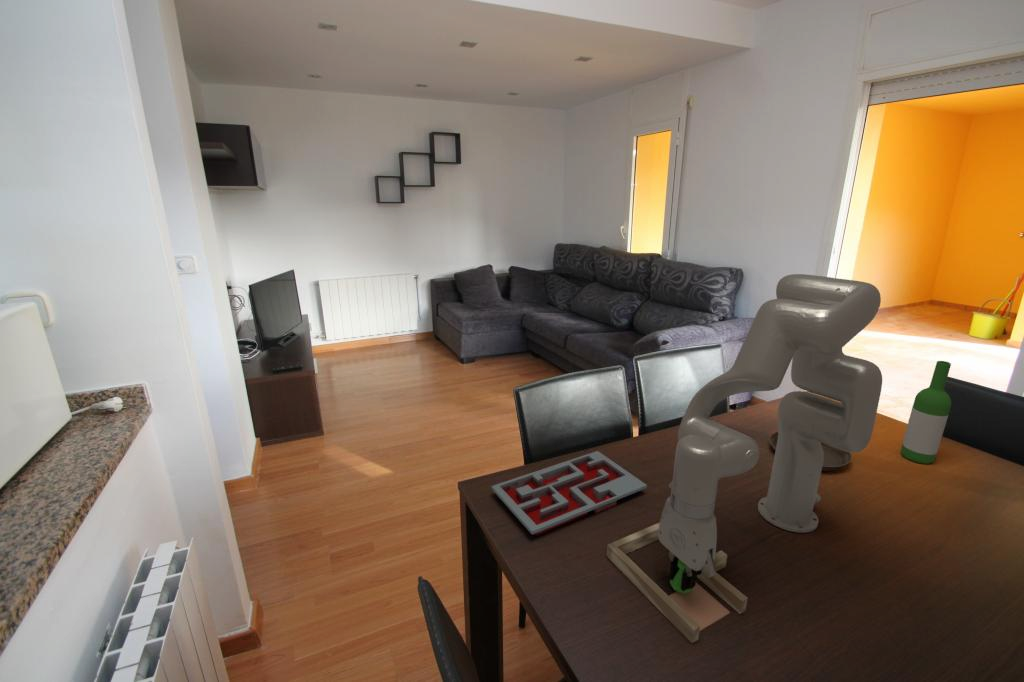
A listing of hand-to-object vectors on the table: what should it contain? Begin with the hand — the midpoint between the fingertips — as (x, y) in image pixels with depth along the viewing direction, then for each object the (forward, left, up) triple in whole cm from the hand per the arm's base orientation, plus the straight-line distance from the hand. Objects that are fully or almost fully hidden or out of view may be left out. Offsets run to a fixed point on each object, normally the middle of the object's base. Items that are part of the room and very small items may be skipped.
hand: (682, 581), depth 90 cm
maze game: (+2, -35, -3) cm, 36 cm away
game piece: (0, 0, -1) cm, 1 cm away
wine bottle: (-99, -2, -2) cm, 99 cm away
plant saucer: (-72, -18, -2) cm, 74 cm away
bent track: (-3, -2, -2) cm, 4 cm away
